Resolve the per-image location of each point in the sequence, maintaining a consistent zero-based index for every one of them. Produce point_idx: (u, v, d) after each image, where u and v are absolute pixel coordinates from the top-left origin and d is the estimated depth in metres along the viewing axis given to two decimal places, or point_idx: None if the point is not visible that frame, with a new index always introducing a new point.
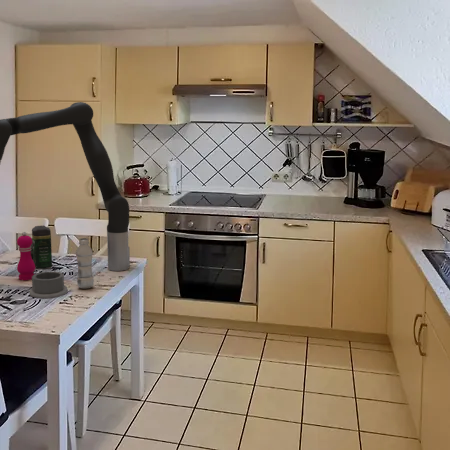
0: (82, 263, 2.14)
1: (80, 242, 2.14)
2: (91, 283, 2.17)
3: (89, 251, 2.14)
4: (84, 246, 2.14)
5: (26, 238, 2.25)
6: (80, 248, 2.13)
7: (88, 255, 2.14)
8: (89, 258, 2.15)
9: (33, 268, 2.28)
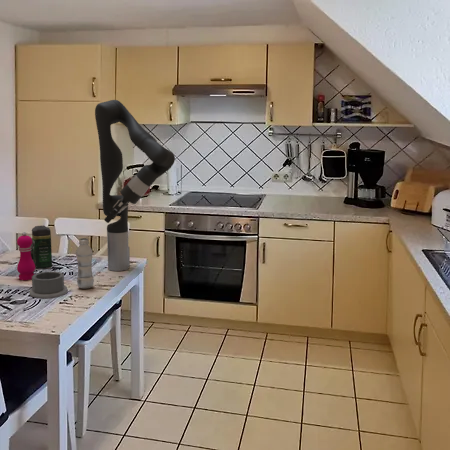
0: (82, 263, 2.14)
1: (80, 242, 2.14)
2: (91, 283, 2.17)
3: (89, 251, 2.14)
4: (84, 246, 2.14)
5: (26, 238, 2.25)
6: (80, 248, 2.13)
7: (88, 255, 2.14)
8: (89, 258, 2.15)
9: (33, 268, 2.28)
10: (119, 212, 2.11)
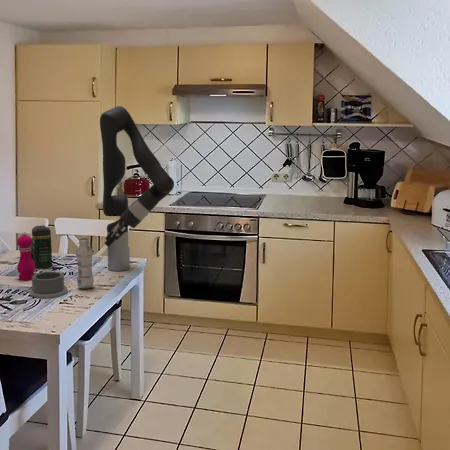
0: (82, 263, 2.14)
1: (80, 242, 2.14)
2: (91, 283, 2.17)
3: (89, 251, 2.14)
4: (84, 246, 2.14)
5: (26, 238, 2.25)
6: (80, 248, 2.13)
7: (88, 255, 2.14)
8: (89, 258, 2.15)
9: (33, 268, 2.28)
10: None
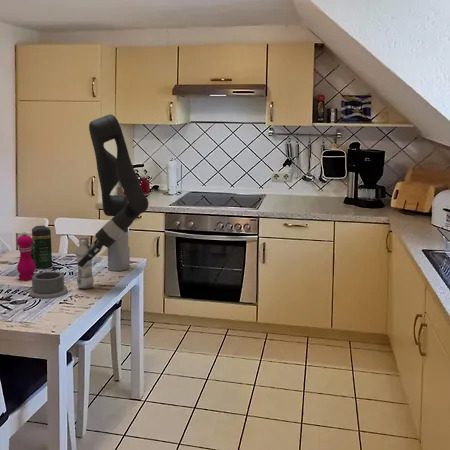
0: None
1: (80, 242, 2.14)
2: (91, 283, 2.17)
3: None
4: (84, 246, 2.14)
5: (26, 238, 2.25)
6: (80, 248, 2.13)
7: (88, 255, 2.14)
8: None
9: (33, 268, 2.28)
10: (93, 256, 2.14)
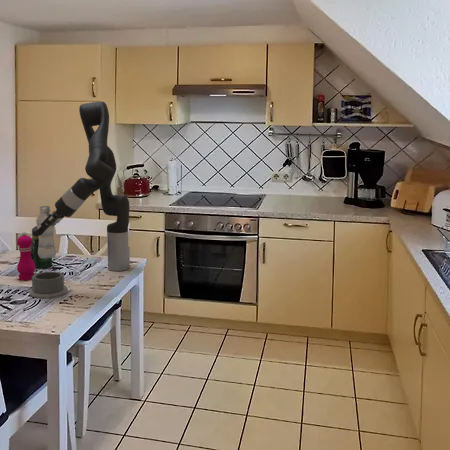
0: None
1: (40, 209, 2.05)
2: (51, 253, 2.07)
3: None
4: (43, 214, 2.05)
5: (26, 238, 2.25)
6: (39, 216, 2.05)
7: None
8: None
9: (33, 268, 2.28)
10: (51, 225, 2.04)
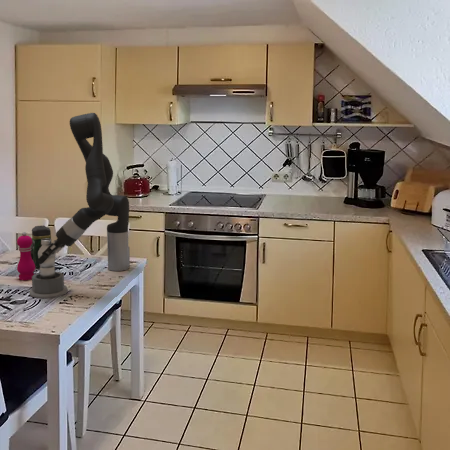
0: (42, 264, 2.07)
1: (41, 242, 2.07)
2: None
3: None
4: (45, 246, 2.07)
5: (26, 238, 2.25)
6: (41, 248, 2.07)
7: None
8: (49, 259, 2.07)
9: (33, 268, 2.28)
10: (52, 254, 2.06)
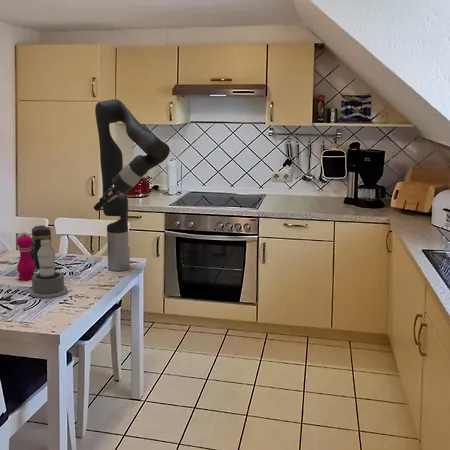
0: (42, 265, 2.07)
1: (41, 243, 2.06)
2: None
3: (49, 253, 2.06)
4: (44, 247, 2.06)
5: (26, 238, 2.25)
6: (40, 249, 2.06)
7: (48, 257, 2.06)
8: (49, 260, 2.07)
9: (33, 268, 2.28)
10: (109, 201, 2.08)
